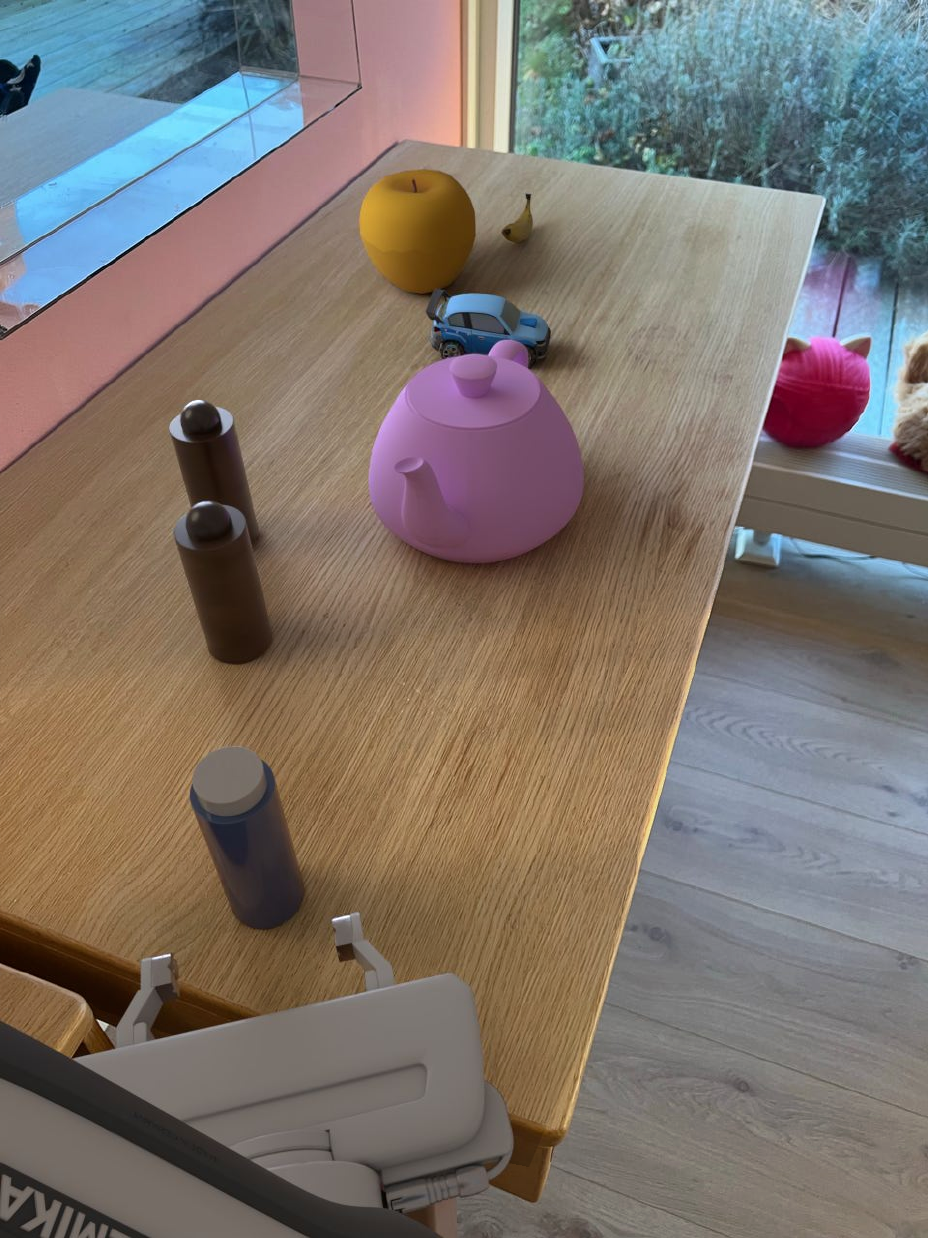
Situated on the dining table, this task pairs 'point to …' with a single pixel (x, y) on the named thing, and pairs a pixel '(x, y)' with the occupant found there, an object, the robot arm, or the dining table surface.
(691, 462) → the dining table surface
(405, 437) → the teapot
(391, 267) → the apple
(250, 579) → the near mill
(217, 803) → the blue shaker
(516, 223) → the banana
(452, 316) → the toy car
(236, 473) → the far mill
